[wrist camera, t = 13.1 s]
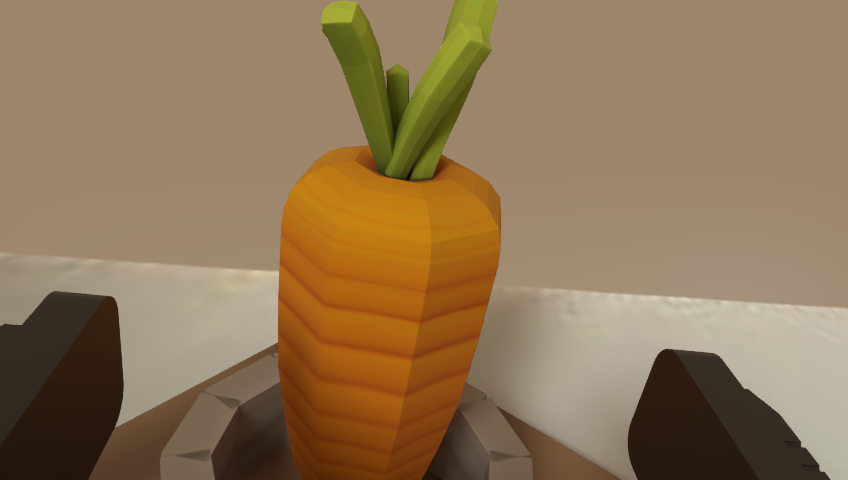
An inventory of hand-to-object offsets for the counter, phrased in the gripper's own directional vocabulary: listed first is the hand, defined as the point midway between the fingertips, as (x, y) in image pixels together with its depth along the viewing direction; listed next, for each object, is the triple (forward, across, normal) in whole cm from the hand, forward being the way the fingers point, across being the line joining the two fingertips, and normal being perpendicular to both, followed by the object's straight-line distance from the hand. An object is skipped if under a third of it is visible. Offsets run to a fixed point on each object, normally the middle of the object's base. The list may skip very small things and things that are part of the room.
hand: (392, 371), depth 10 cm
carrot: (+5, 0, +10) cm, 11 cm away
